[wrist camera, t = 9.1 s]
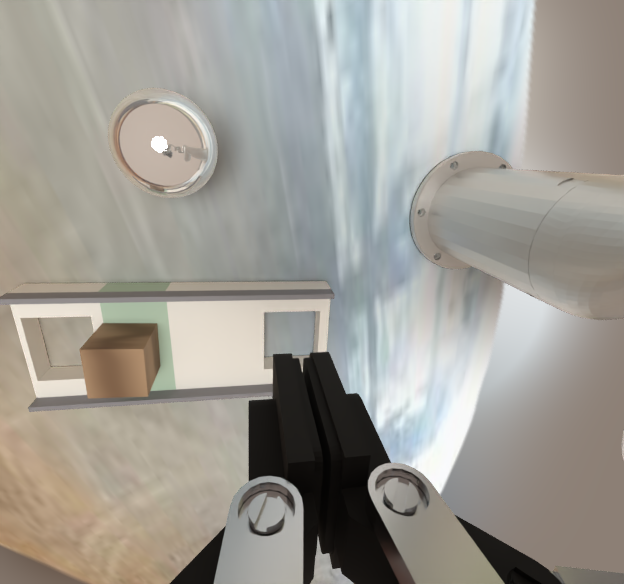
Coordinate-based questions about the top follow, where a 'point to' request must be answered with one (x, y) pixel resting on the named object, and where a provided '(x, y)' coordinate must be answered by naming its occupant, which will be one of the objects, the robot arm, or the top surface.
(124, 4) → the top surface
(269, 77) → the top surface
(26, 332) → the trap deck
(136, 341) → the walnut block
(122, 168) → the light bulb
